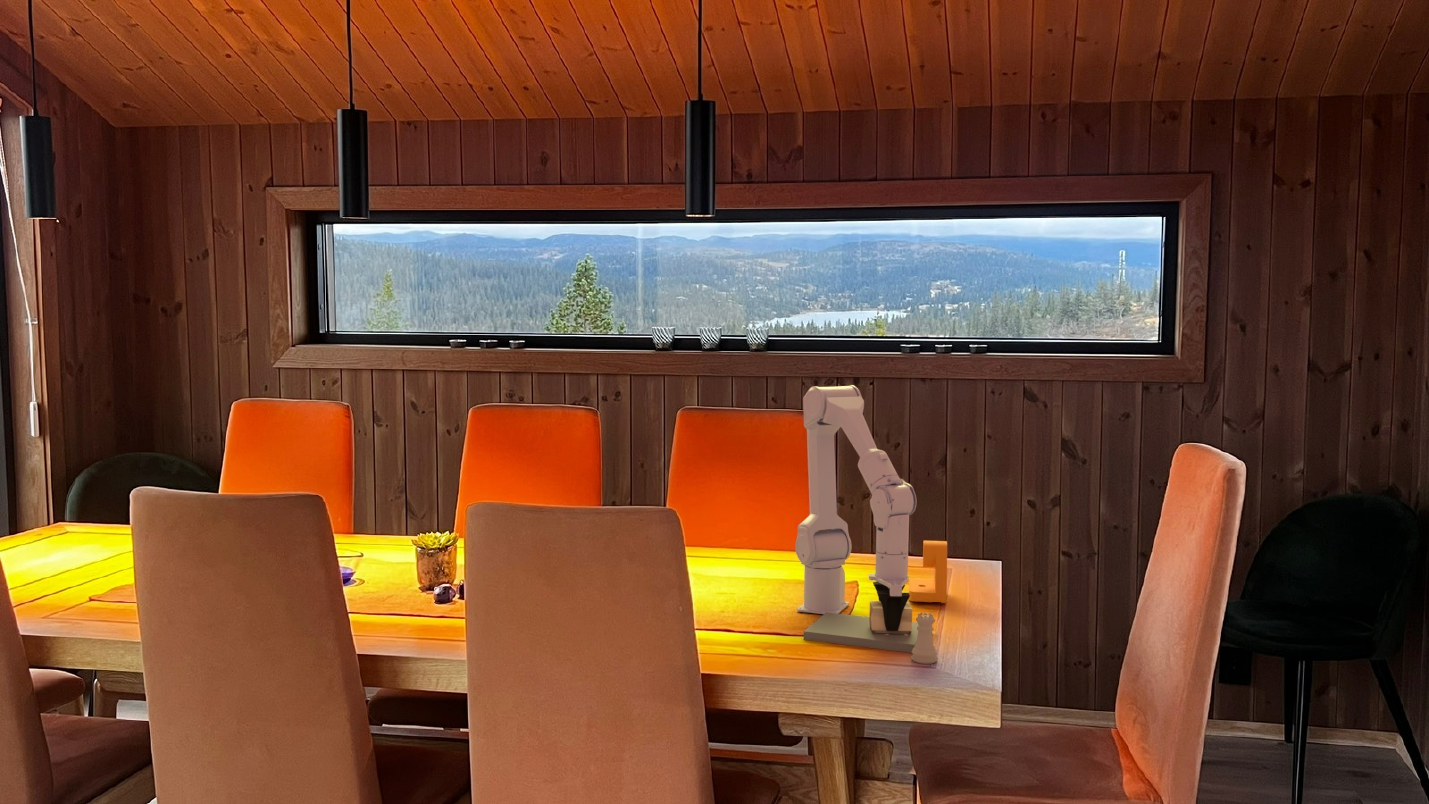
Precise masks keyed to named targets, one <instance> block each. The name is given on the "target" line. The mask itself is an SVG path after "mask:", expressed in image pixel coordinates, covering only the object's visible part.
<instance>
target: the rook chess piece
mask: <svg viewBox="0 0 1429 804" xmlns="http://www.w3.org/2000/svg"><path fill="white" fill-rule="evenodd" d="M915 621H916V623H918V627H917V630H918V637H917V642H916V645H915V647H914V648H913V649H912V653H911V654H912V655H911V656H910V658H911V660H912V661H913V662H914V663H917V664H919V665H920V664H921V665H932V664H935V663H936V662H937V661H938V659H939V658H938V657H937V655H938V651H937V649H936V646H935V644H934V640H933V631H934V626H933V624H934V623H935V622H936V619H935V618H934V614H933V613H932V612H929V613H928V612H925V611H924V613H923V612H919V613H917V617H916V618H915Z"/></svg>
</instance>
